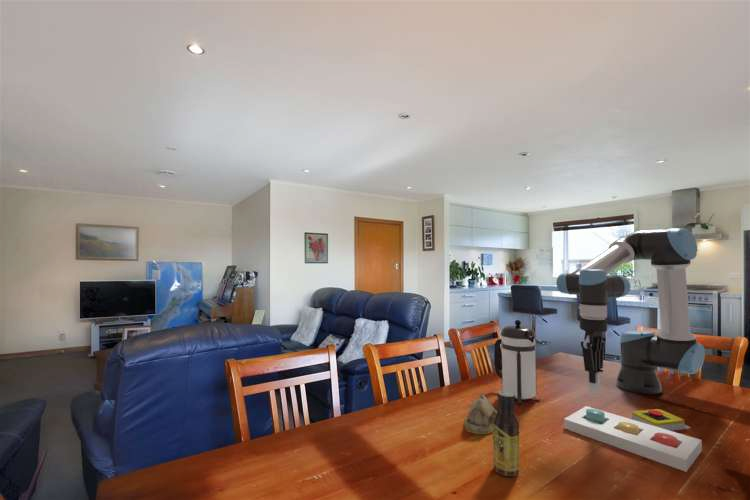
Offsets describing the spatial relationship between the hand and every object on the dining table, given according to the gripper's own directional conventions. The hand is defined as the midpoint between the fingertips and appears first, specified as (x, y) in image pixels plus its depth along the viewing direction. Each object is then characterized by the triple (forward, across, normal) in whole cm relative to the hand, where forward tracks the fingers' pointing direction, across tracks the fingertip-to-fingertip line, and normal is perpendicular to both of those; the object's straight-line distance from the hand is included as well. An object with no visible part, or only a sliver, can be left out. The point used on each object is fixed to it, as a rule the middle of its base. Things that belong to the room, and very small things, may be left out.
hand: (594, 392), depth 115 cm
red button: (+11, 0, +18) cm, 21 cm away
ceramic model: (+12, +26, -24) cm, 37 cm away
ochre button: (+11, 0, +9) cm, 14 cm away
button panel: (+11, 0, +9) cm, 14 cm away
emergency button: (+12, -19, +12) cm, 25 cm away
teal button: (+10, 0, 0) cm, 10 cm away
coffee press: (+11, -4, -30) cm, 32 cm away
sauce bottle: (+12, +43, -4) cm, 44 cm away
